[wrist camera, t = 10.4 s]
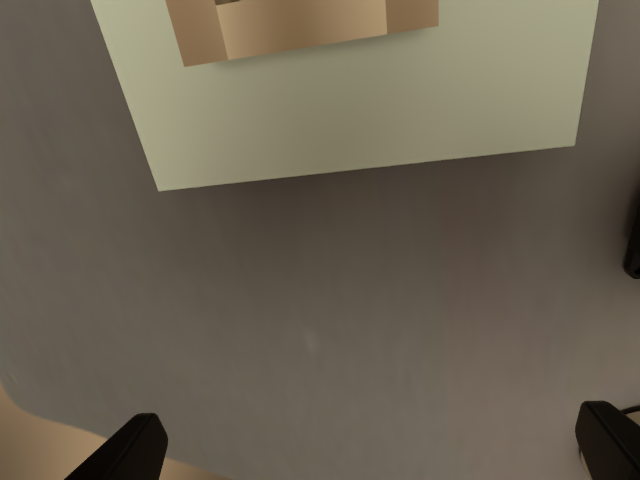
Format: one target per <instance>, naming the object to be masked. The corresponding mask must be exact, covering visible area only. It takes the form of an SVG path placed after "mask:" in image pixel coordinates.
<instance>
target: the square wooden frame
mask: <svg viewBox="0 0 640 480" xmlns="http://www.w3.org/2000/svg"><path fill="white" fill-rule="evenodd" d="M165 1H166V5H167V8H168V12H169V15H170V19H171V22H172V26H173V29H174V33H175V36H176V40H177V44H178V47H179V51H180V54H181V58H182V61H183V65H184V67H188V66H194V65H201V64H207V63H213V62H219V61H225V60H232V59H238V58H244V57H250V56H256V55H262V54H269V53H275V52H281V51H287V50H293V49H300V48H306V47H312V46H318V45H324V44H331V43H337V42H343V41H349V40H355V39H361V38H368V37H374V36H380V35H386V34H392V33H399V32H405V31H411V30H417V29H423V28H429V27H436V26H439V0H243V1H239V0H165Z"/></svg>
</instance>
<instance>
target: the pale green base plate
mask: <svg viewBox="0 0 640 480" xmlns="http://www.w3.org/2000/svg"><path fill="white" fill-rule="evenodd" d="M239 1H243V0H239ZM91 3H92V6H93V8H94V11H95V14H96V17H97V20H98V23H99V25H100V28H101V31H102V34H103V37H104V39H105V42H106V45H107V48H108V51H109V53H110V56H111V59H112V62H113V65H114V68H115V70H116V73H117V76H118V79H119V82H120V84H121V87H122V90H123V93H124V96H125V98H126V101H127V104H128V107H129V110H130V113H131V115H132V118H133V121H134V124H135V127H136V129H137V132H138V135H139V138H140V141H141V143H142V146H143V149H144V152H145V155H146V157H147V160H148V163H149V166H150V169H151V172H152V174H153V177H154V180H155V183H156V186H157V188H158V191H165V190H175V189H184V188H193V187H202V186H211V185H220V184H229V183H238V182H248V181H257V180H266V179H275V178H284V177H293V176H302V175H311V174H320V173H330V172H339V171H348V170H357V169H366V168H375V167H384V166H393V165H402V164H412V163H421V162H430V161H439V160H448V159H457V158H466V157H475V156H485V155H494V154H503V153H512V152H521V151H530V150H539V149H548V148H557V147H567V146H575V141H576V135H577V129H578V123H579V117H580V111H581V105H582V99H583V93H584V87H585V81H586V75H587V69H588V63H589V57H590V51H591V45H592V39H593V33H594V27H595V21H596V15H597V9H598V3H599V0H439V26H436V27H429V28H423V29H417V30H411V31H405V32H399V33H392V34H386V35H380V36H374V37H368V38H361V39H355V40H349V41H343V42H337V43H331V44H324V45H318V46H312V47H306V48H300V49H293V50H287V51H281V52H275V53H269V54H262V55H256V56H250V57H244V58H238V59H232V60H225V61H219V62H213V63H207V64H201V65H194V66H188V67H184V65H183V61H182V58H181V54H180V51H179V47H178V44H177V40H176V36H175V33H174V29H173V26H172V22H171V19H170V15H169V12H168V8H167V5H166V1H165V0H91Z"/></svg>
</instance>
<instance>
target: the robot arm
mask: <svg viewBox="0 0 640 480" xmlns="http://www.w3.org/2000/svg"><path fill="white" fill-rule="evenodd" d="M639 266H640V203H639V207H638V211H637V215H636V219H635V222H634V226H633V230H632V234H631V238H630V241H629V250H628V254H627V257H626V261H625V265H624V271H625V272H626V273H627V274H628V275H629V276H630V277H632V278H634V279H640V268H639V269H637V270H635V269H636V268H637V267H639ZM575 433H576V438H577V441H578V444H579V447H580V449H581V452H582V455H583V457H584V460H585V462H586V465H587V468H588V470H589V473H590V476H591V478H592V480H640V426H639V425H638V424H637V423H636V422H634V421H633V420H632V419H630V418H629V417H628V416H626V415H625V414H624V413H622V412H621V411H620V410H618V409H617V408H616V407H614V406H613V405H612V404H610V403H608V402H606V401H584V402H583V403H582V404H581V407H580V411H579V415H578V418H577V422H576V426H575ZM167 446H168V436H167V433H166V431H165V429H164V427H163V425H162V423H161V421H160V419H159V417H158V416H157V415H156V414H155V413H140V414H137V415H135V416H134V417H133V418H131V419H130V420H129V421H128V422H127V423H126V424H125V425H124V426H123V427H121V428H120V429H119V430H118V431H117V432H116V433H115V434H114V435H113V436H112V437H110V438H109V439H108V440H107V441H106V442H105V443H104V444H103V445H102V446H101V447H99V448H98V449H97V450H96V451H95V452H94V453H93V454H92V455H91V456H89V457H88V458H87V459H86V460H85V461H84V462H83V463H82V464H81V465H79V466H78V467H77V468H76V469H75V470H74V471H73V472H72V473H71V474H70V475H68V476H67V477H66V478H65V479H64V480H159V477H160V473H161V469H162V465H163V461H164V458H165V454H166V450H167Z"/></svg>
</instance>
